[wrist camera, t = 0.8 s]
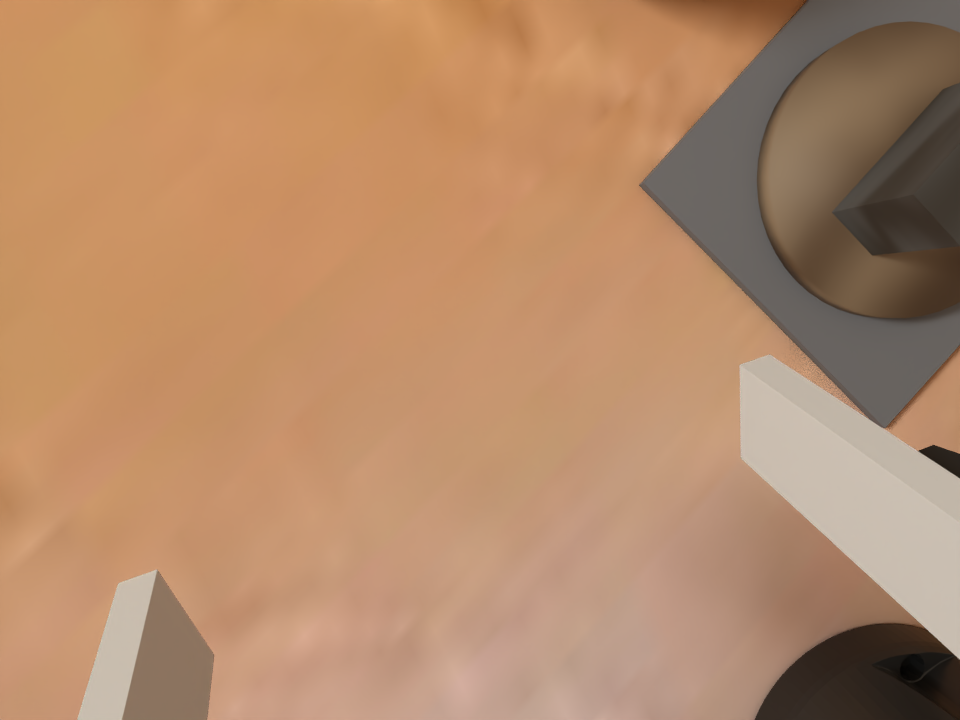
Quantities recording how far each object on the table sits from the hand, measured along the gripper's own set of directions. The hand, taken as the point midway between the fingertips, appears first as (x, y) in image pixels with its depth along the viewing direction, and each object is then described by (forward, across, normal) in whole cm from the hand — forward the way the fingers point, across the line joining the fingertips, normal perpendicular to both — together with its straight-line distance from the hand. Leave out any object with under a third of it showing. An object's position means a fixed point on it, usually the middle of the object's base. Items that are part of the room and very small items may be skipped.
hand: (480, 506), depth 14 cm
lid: (+15, -26, +3) cm, 30 cm away
